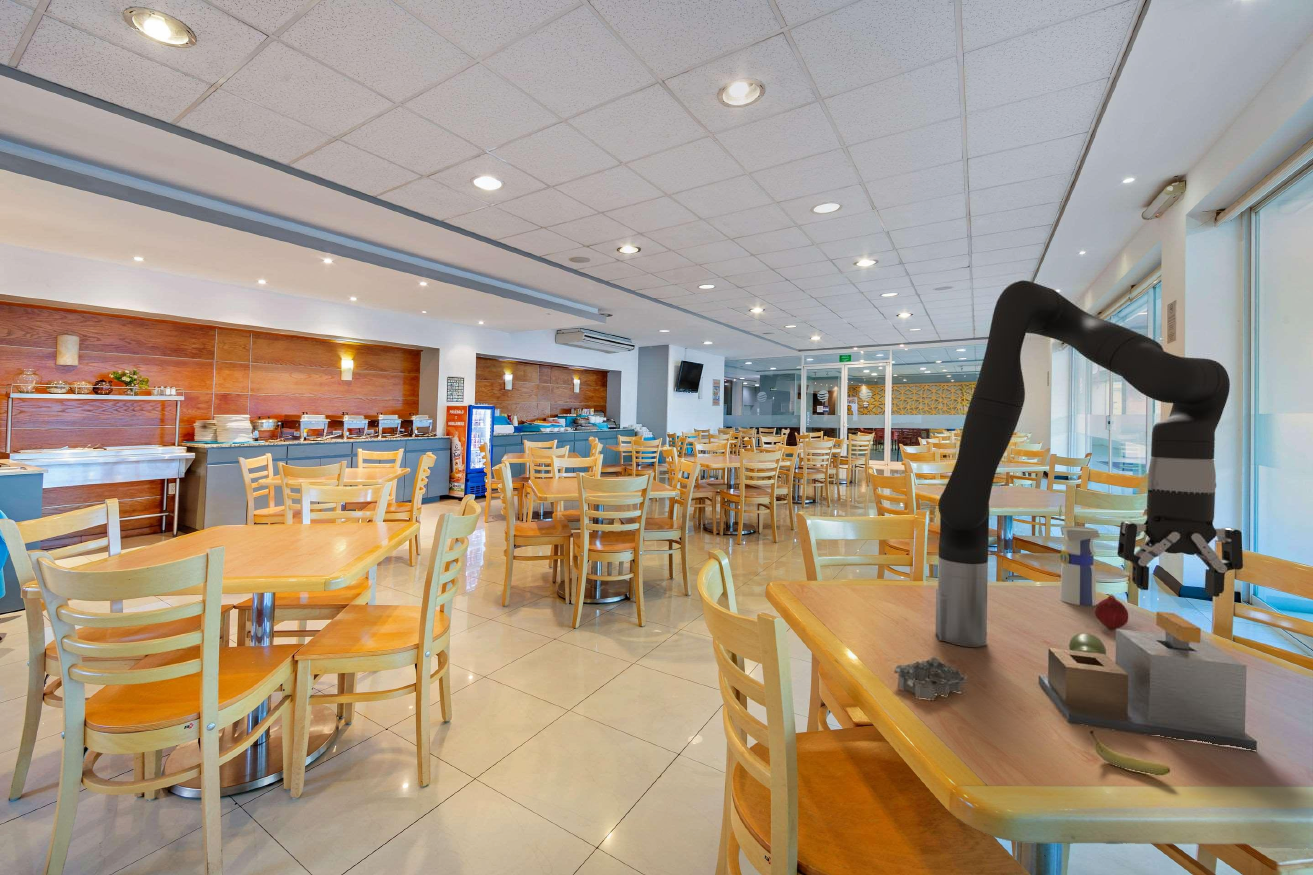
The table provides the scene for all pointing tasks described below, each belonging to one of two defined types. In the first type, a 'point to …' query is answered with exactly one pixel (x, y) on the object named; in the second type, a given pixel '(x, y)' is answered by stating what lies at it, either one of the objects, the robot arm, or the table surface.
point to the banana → (1128, 760)
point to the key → (1177, 631)
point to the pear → (1087, 644)
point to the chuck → (1153, 689)
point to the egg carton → (939, 682)
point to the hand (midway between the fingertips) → (1176, 591)
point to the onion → (1111, 613)
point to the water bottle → (1078, 565)
